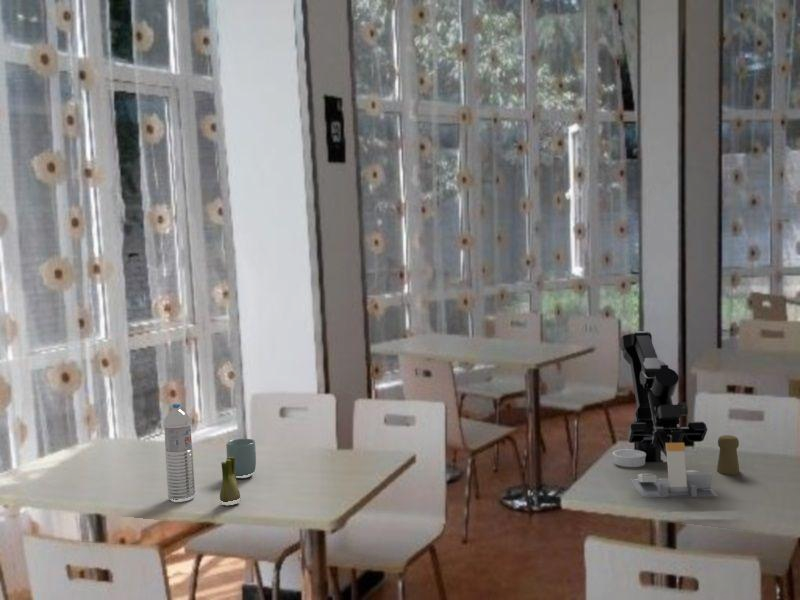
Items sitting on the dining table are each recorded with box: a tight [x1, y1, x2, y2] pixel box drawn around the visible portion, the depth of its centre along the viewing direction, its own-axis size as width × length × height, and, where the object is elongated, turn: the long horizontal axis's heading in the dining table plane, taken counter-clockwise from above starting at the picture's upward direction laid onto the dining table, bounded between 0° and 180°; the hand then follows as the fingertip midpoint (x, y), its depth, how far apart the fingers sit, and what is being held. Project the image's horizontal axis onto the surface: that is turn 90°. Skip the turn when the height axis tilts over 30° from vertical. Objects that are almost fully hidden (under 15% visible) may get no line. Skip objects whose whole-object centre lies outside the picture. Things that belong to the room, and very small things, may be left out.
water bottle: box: [163, 402, 196, 500], centre depth 227 cm, size 7×7×25 cm
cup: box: [225, 438, 257, 476], centre depth 245 cm, size 8×8×10 cm
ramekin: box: [612, 448, 646, 468], centre depth 242 cm, size 9×9×4 cm
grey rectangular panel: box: [686, 471, 713, 489], centre depth 216 cm, size 1×6×5 cm, turn 86°
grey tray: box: [629, 477, 719, 498], centre depth 220 cm, size 15×18×4 cm
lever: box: [666, 442, 688, 494], centre depth 214 cm, size 2×4×12 cm, turn 87°
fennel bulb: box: [219, 456, 241, 502], centre depth 222 cm, size 6×5×12 cm
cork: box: [716, 434, 741, 476], centre depth 231 cm, size 6×6×11 cm
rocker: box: [637, 473, 658, 482], centre depth 222 cm, size 5×4×2 cm
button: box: [686, 469, 699, 472], centre depth 221 cm, size 4×4×2 cm
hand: (672, 461), depth 218 cm, fingers closed
